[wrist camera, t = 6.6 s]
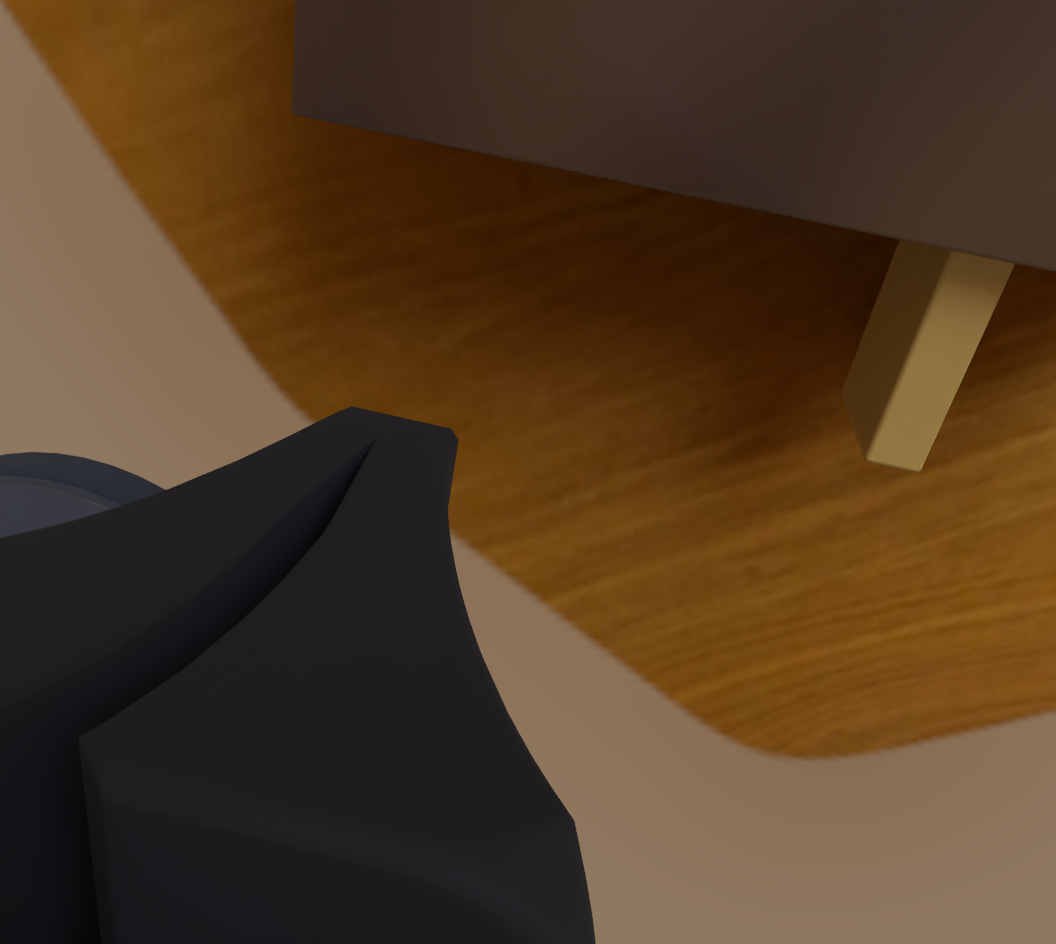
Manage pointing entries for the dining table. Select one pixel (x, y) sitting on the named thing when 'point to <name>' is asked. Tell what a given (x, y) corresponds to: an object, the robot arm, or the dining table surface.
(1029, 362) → the dining table surface
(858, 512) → the dining table surface
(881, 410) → the sliding door
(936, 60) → the cabinet
